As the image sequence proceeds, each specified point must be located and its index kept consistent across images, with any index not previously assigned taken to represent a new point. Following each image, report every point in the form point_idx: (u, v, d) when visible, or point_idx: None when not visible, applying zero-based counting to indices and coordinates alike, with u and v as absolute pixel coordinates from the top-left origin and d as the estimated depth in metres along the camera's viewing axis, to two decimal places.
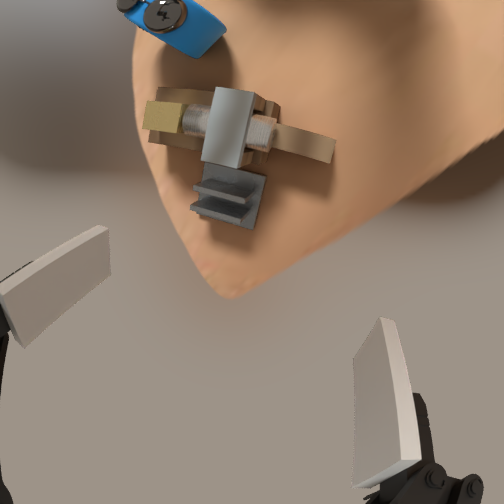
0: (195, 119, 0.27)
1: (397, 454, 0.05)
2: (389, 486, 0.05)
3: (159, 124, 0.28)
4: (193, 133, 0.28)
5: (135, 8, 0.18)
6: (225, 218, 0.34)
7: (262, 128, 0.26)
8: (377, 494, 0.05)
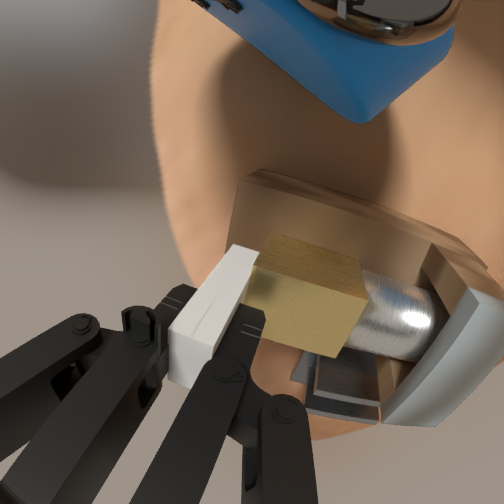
0: (383, 336, 0.11)
1: None
2: None
3: (291, 333, 0.12)
4: (360, 349, 0.12)
5: None
6: (356, 420, 0.18)
7: None
8: None
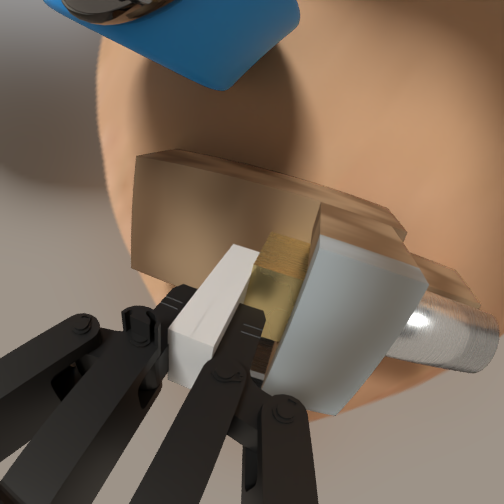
0: None
1: None
2: None
3: None
4: None
5: None
6: None
7: (485, 355, 0.10)
8: None
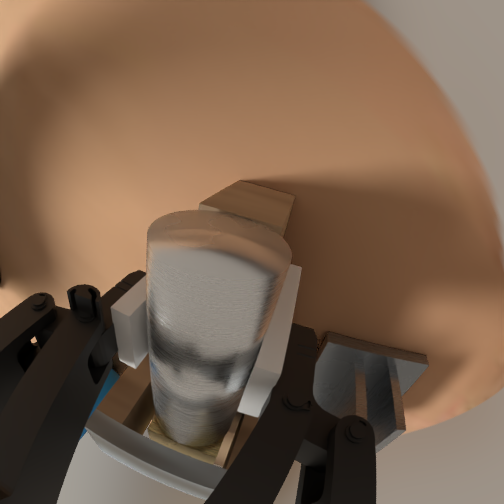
0: (174, 429, 0.09)
1: (255, 363, 0.07)
2: (263, 408, 0.07)
3: None
4: (217, 433, 0.10)
5: None
6: (384, 444, 0.12)
7: (166, 290, 0.06)
8: None
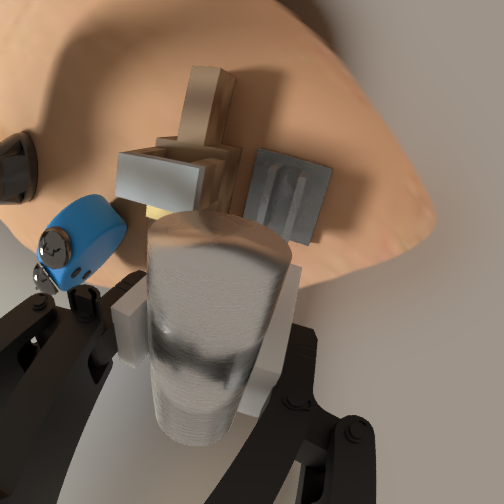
0: (176, 429, 0.09)
1: (255, 363, 0.07)
2: (263, 408, 0.07)
3: None
4: (219, 432, 0.10)
5: (52, 277, 0.27)
6: (298, 198, 0.23)
7: (170, 292, 0.06)
8: None
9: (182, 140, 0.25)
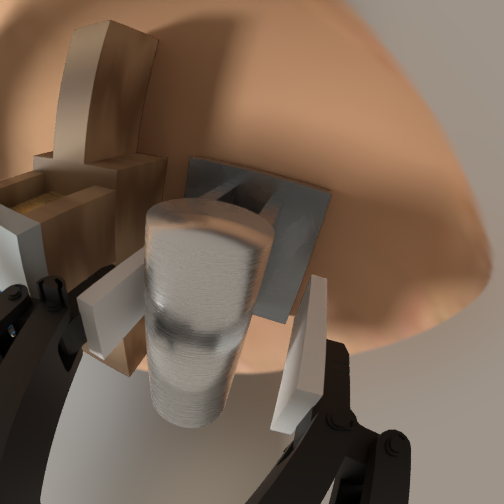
0: (173, 410, 0.10)
1: (296, 384, 0.07)
2: (300, 427, 0.07)
3: None
4: (213, 411, 0.11)
5: None
6: None
7: (167, 267, 0.07)
8: (291, 444, 0.07)
9: (58, 157, 0.12)
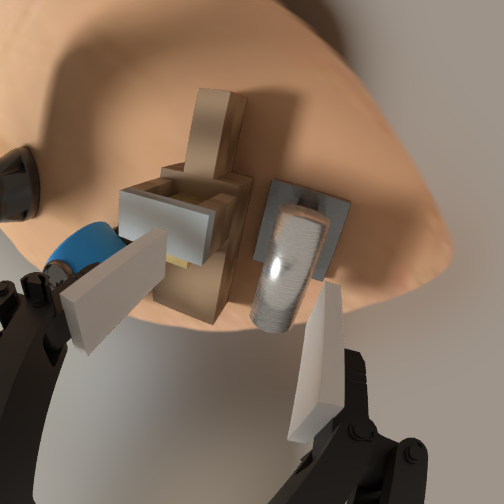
0: (271, 317, 0.22)
1: (317, 397, 0.06)
2: (319, 438, 0.06)
3: None
4: (291, 320, 0.22)
5: None
6: None
7: (293, 231, 0.18)
8: (309, 453, 0.07)
9: (189, 172, 0.24)
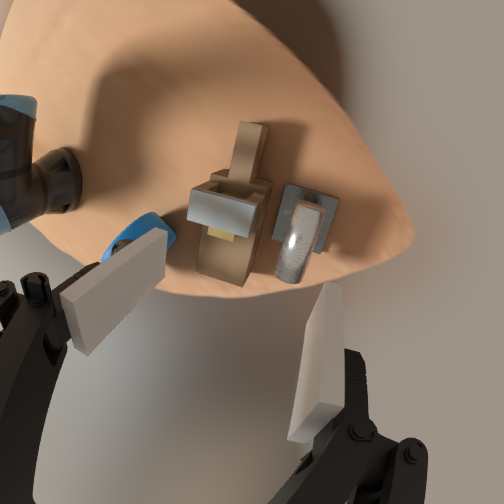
0: (289, 272, 0.34)
1: (317, 397, 0.06)
2: (319, 438, 0.06)
3: None
4: (302, 274, 0.35)
5: None
6: None
7: (304, 215, 0.31)
8: (309, 453, 0.07)
9: (232, 177, 0.36)
